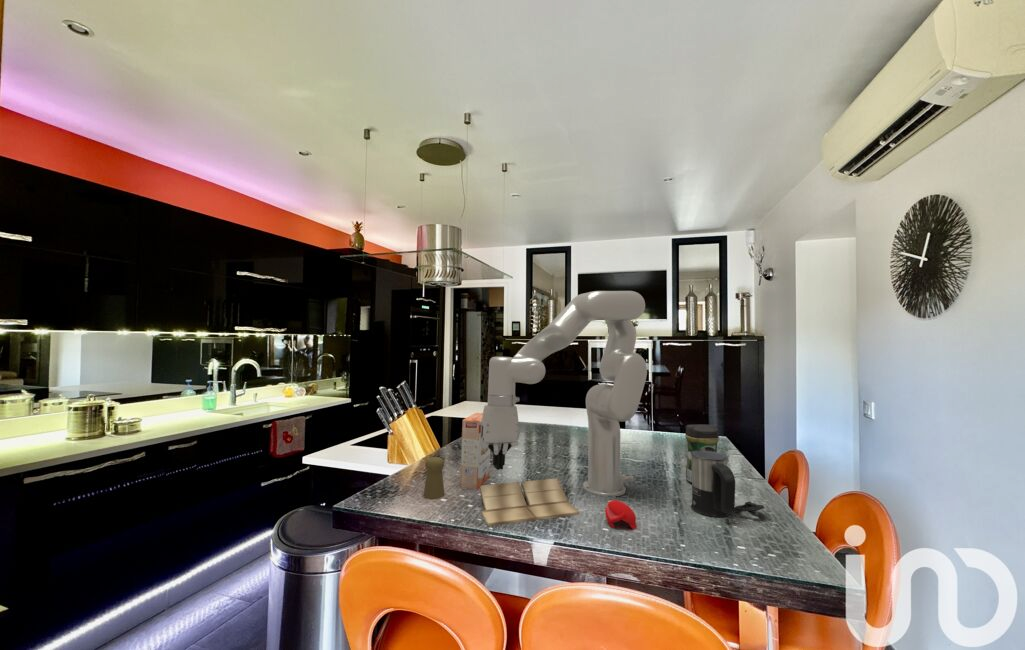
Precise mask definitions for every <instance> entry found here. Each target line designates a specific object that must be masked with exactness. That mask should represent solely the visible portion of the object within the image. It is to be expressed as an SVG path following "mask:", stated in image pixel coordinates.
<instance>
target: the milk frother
mask: <svg viewBox="0 0 1025 650" xmlns="http://www.w3.org/2000/svg"><path fill="white" fill-rule="evenodd" d="M690 454H691V459H692V484H691V491H692V492H691V494H692V496H691V504H690V507H691V509H692V510H693V511H694V512H697V513H699V514H701V515H704V516H709V517H715V518H716V517H718V518H719V517H723V518H724V517H727V516H729V515H730V514H734V513H740V512H741V513H742V512H747V513H748V514H749V513H754V512H757V511H761V510H763V509H764V508H765V506H764V505H762V504H756V503H755V502H752V501H745V503H743V504H742V505H736V506H735V503H736V500H735V499H736V478H735V474H734V472H733V471H732V469H731V468H730V467H728V463H727V462H728V459H729V455H726V454H724V453H721V452H718V451H717V452H712V451H692V452H690Z"/></svg>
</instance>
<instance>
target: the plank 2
mask: <svg viewBox="0 0 1025 650" xmlns="http://www.w3.org/2000/svg"><path fill="white" fill-rule="evenodd" d="M520 487H522V488H521V490H522V492H523V495H524V498H525V499H526V500H525V501H526V504H527V506H530V505H539V504H547V503H556V502H564V501H568V502H569V499H568V497H567V496H566V494H565V491H564V489H563V486H562V485H561V483H560V481H559V479H558V478H557V477H556V478H548V479H545V478H544V479H537V480H536V479H535V480H527V481H526V480H525V481H521V484H520Z"/></svg>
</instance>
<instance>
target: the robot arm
mask: <svg viewBox="0 0 1025 650" xmlns="http://www.w3.org/2000/svg"><path fill="white" fill-rule="evenodd" d="M645 309H646V302H645V299H644V297H643V296H642V295H641V294H640V293H639V292H636V291H633V290H594V291H589V292H585V293H580V294H578V295H576V296H574V297H573V298H572V299H571V301H570V302H568V304H566V306H564V308H563V309H562V310H561V311H560V312H559V313H558V315H557V316H556V317H555V318H554V319H553V320H552V321H551V322H550V323H549V324H548V325H547V326H546V327H545V328H543V329H542V330H540V331H539V332H538V333H537V334H536V335H535V336H533V337H532V338H531V339H529V340H528V341H527V342H526V343H525V344H524V345H523V346H522V347H521V348H520V349H519V350H518V351H517V353H516V354H515V355H513V357H511V356H493V357H491V358H490V359H489V364H488V365H489V366H488V384H487V385H488V387H487V404H485V405H484V407H483V411H482V413H483V415H482V423H481V433H480V437H481V439H482V440H481V443H480V445H481V447H484V448H489V449H490V452H492V465H493V467H494V468H495V469H496V470H497V471H498V470H503V469H504V466H505V464H506V463H505V462H506V454H507V453H508V451H510V449H511V448H515V447H518V446H519V437H520V434H519V433H520V431H519V430H520V429H519V428H520V426H519V425H520V424H519V414H518V413H519V411H518V408H517V405H516V403H518V402H520V401H521V400H520V396H516V383H521V384H527V385H534V384H537V383H539V382H541V381H542V380H543V379H544V378H545V375H546V367H545V365H544V363H543V360H544V359H547V357H549V356H550V355H551V354H554V353H556V352H558V351H561V350H563V349H565V348H567V347H569V346H570V345H571V344H573V342H574V341H575V340H576V338H578V336H579V335H580V334H581V332H583V331H584V329H585V328H586V327H587V326H589V325H590V323H591V322H592V321H604V323H606V325H607V331H608V334H607V340H606V343H605V348H604V350H603V354H602V357H601V360H600V364H599V374H600V376H601V377H602V378H603V379H604V380H607V381H609V382H612V383H613V385H610V384H606V383H605V384H602V383H600V384H596V385H593V386H592V387H590V389H589V390H588V391H587V393H586V396H585V408H586V414H587V423H588V426H587V427H588V429H587V430H588V437H587V438H588V445H587V446H588V449H587V450H588V453H587V454H588V455H587V456H588V458H587V464H588V465H587V472H588V473H587V478H588V479H587V480H585V481H584V482H583V484H582V488H583V490H584V491H587V492H588V493H590V494H594V495H598V496H602V497H603V496H605V497H606V496H607V497H616V496H617V497H621V496H623V495H625V494H626V486H625V485H626V483H634V482H635V477H634V475H627V476H626V474H625V473H623V474H621V427H620V423H621V422H627V421H630V420H631V419H632V418H633V417H634V416H635V414H636V412H637V411H638V408H639V405H640V401H641V398H642V396H643V395H642V394H643V391H644V387H645V384H646V380H647V375H648V367H647V363H646V360H645V359H644V358H643V357H642V355H641V354H639V353H636V352H635V347H636V344H637V343H636V342H637V332H636V327H635V326H634V323H633V322H632V320H637V319H638V318H640V317H641V316H642V315H643V314H644V312H645ZM499 444H500V448H499Z"/></svg>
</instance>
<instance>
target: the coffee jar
mask: <svg viewBox="0 0 1025 650" xmlns="http://www.w3.org/2000/svg"><path fill="white" fill-rule="evenodd" d="M684 435H685V439H686V443H687V458H686V466H685V467H686V470H685V479H686V481H687V482H688V483H689V482H690V483H689V484H691V483H692V459H691V454H690V452H692V451H712V452H718V443H719V440H720V436H719V430H718V428H717V426H715V425H712V424H703V423H702V424H700V423H699V424H697V423H696V424H687V425H686V426H685V434H684Z"/></svg>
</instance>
